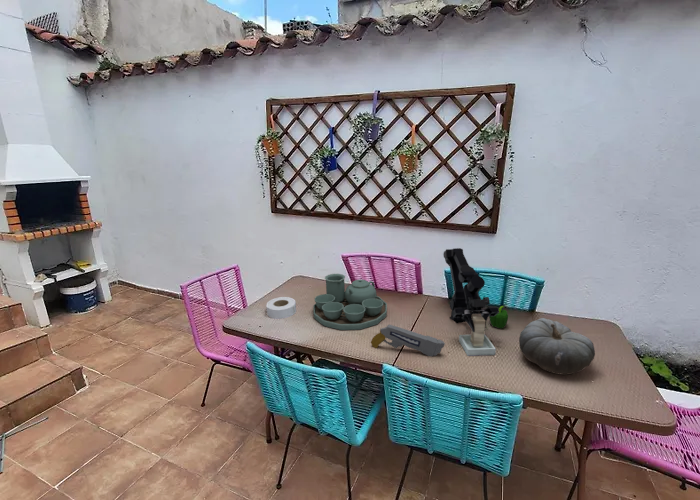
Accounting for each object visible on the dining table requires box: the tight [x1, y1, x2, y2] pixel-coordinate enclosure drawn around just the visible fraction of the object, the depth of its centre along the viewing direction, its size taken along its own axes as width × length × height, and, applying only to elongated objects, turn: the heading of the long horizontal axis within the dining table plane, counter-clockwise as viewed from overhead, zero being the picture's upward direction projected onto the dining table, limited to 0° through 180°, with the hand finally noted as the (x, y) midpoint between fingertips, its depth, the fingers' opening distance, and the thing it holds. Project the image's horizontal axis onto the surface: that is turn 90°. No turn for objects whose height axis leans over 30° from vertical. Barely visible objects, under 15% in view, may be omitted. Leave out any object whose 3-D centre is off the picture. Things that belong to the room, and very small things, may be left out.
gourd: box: [518, 317, 596, 375], centre depth 134 cm, size 25×25×17 cm
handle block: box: [470, 315, 486, 346], centre depth 145 cm, size 4×4×12 cm
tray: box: [458, 333, 497, 357], centre depth 147 cm, size 12×12×3 cm
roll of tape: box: [266, 296, 297, 320], centre depth 185 cm, size 16×16×6 cm
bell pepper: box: [488, 305, 509, 329], centre depth 163 cm, size 8×8×10 cm
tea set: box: [312, 273, 388, 331], centre depth 181 cm, size 40×40×16 cm
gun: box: [370, 324, 446, 357], centre depth 146 cm, size 4×28×17 cm, turn 74°
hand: (479, 331), depth 144 cm, fingers closed on handle block, 4 cm apart
